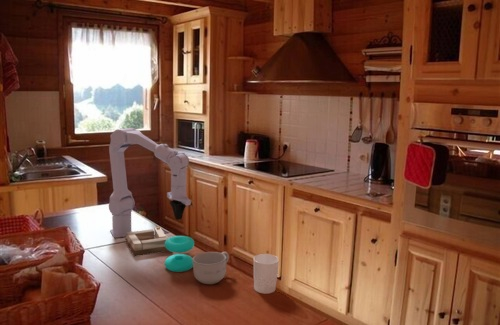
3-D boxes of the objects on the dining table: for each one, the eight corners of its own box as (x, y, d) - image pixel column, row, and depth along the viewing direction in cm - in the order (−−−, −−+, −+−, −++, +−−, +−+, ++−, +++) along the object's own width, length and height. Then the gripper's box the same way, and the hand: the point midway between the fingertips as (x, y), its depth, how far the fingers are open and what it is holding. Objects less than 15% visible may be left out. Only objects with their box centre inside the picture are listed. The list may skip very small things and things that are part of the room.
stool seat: (125, 243, 166) (125, 232, 165) (160, 238, 172) (160, 227, 172) (134, 256, 154) (134, 244, 153) (171, 250, 160) (171, 239, 159)
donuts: (175, 232, 151) (199, 237, 147) (175, 259, 153) (199, 264, 149) (158, 241, 142) (183, 247, 138) (158, 269, 144) (183, 275, 140)
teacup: (204, 291, 130) (204, 266, 128) (185, 278, 138) (186, 255, 137) (240, 279, 139) (240, 256, 137) (220, 267, 147) (221, 245, 145)
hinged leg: (154, 234, 171) (154, 226, 170) (160, 233, 172) (160, 226, 171) (159, 243, 161) (159, 235, 160) (166, 242, 162) (165, 234, 161)
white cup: (248, 284, 135) (249, 255, 133) (271, 281, 138) (272, 252, 136) (257, 296, 128) (259, 265, 126) (281, 292, 131) (283, 262, 129)
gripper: (160, 182, 166) (160, 215, 168) (179, 190, 155) (179, 225, 157) (176, 180, 170) (175, 213, 173) (195, 187, 159) (195, 222, 162)
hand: (178, 219), depth 165 cm, fingers closed
